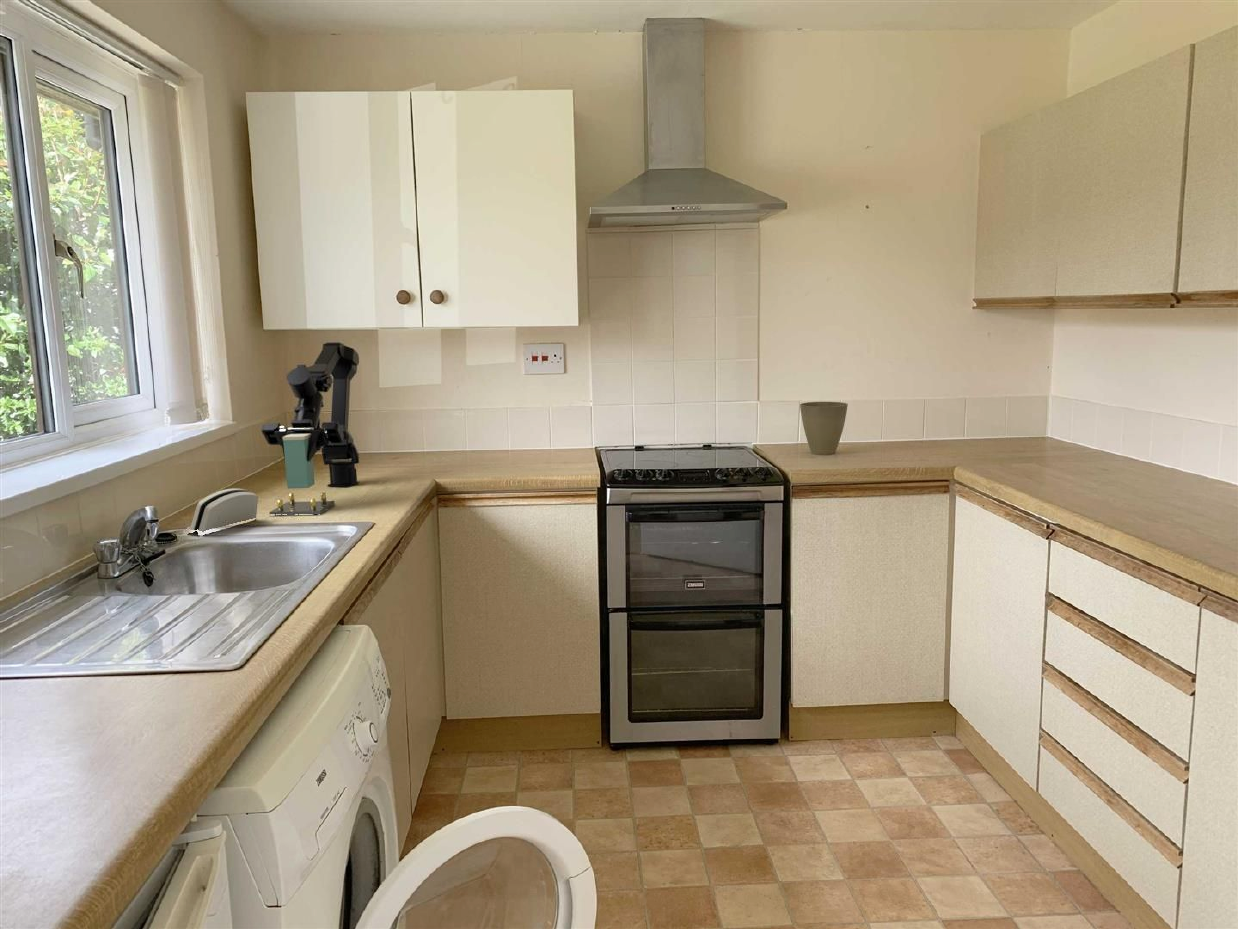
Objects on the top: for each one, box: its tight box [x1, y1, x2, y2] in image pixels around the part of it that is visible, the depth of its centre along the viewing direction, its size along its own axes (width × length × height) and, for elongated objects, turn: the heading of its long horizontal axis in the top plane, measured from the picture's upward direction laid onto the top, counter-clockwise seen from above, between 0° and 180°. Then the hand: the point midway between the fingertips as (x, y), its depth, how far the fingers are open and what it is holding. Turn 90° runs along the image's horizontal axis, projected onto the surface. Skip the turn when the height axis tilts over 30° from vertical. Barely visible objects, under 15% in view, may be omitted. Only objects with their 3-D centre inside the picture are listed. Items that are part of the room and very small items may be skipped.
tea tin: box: [282, 434, 316, 490], centre depth 225 cm, size 5×5×13 cm
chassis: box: [269, 492, 335, 515], centre depth 227 cm, size 12×12×4 cm
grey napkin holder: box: [186, 488, 259, 532], centre depth 210 cm, size 17×5×10 cm, turn 158°
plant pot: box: [799, 401, 848, 456], centre depth 295 cm, size 15×15×16 cm
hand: (297, 460), depth 224 cm, fingers closed on tea tin, 5 cm apart
